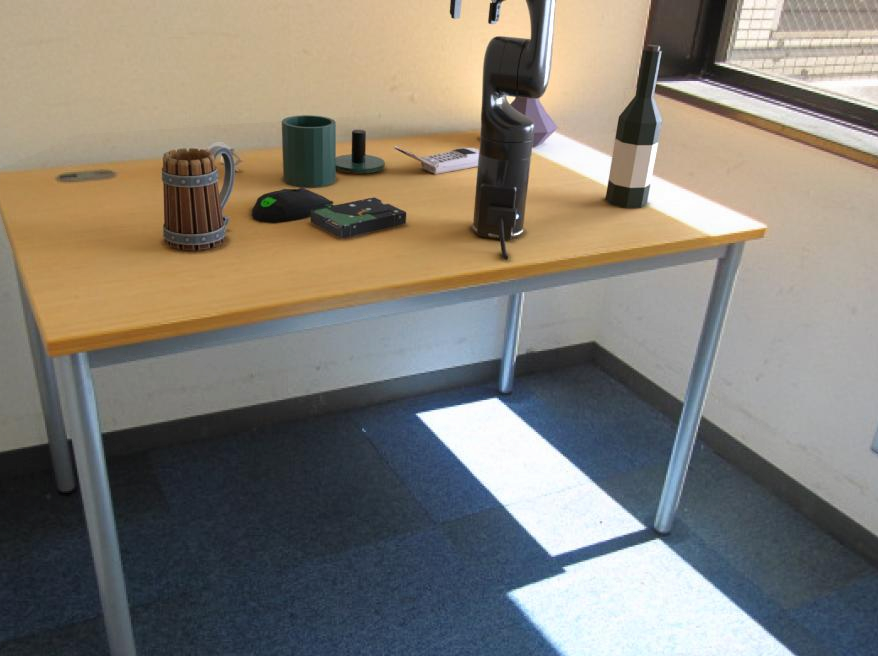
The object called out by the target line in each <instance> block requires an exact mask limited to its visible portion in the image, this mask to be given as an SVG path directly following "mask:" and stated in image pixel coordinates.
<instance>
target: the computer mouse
mask: <svg viewBox="0 0 878 656" xmlns="http://www.w3.org/2000/svg"><path fill="white" fill-rule="evenodd" d="M333 205H334V201H333V200H330V199H328V198H327V197H325V196H324V195H321V194H319V193H317V192H314V191H312V190H310V189H307V188H306V187H298V188H282V189H279V190H274V191H269V192H267V193H264V194H262V195H260V196H258V197H257V199H256V200H255V203H254V205H253V207H252V209H251V217H252V220H254V221H257V222H259V223H265V224H280V223H281V224H282V223H289V222H294V221H295V222H296V221H301V220H304V219H305V220H306V219H309V218H310V210H314V209H319V208H323V207H330V206H333Z"/></svg>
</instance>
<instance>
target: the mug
mask: <svg viewBox="0 0 878 656" xmlns="http://www.w3.org/2000/svg"><path fill="white" fill-rule="evenodd" d="M221 155H222V156H223V158H222V160H223V162H224V163H223V164H224V176H223V182H222V187H221V189H220V188H219V182H218V181H219V175H220V173H219V172H218V167H217V166H216V160H217V158H218V157H219V156H221ZM235 169H236V166H235V158H234V155H233V154H232V153H231V151H230V150H229V149H227V148H225V147H221V146H214V147H212V148H211V149H210V150H209V151H208V152H207V150H206V149H204V148H195V147H191V148H189V149H188V150H187V148H183V147H182V148H178V149H171V150H168V152H167V151H166V152H165V153H163V156H162V168H161V181H162V183H163V185H162V186H163V224H162V236H163V238H164V242H165V244H166V245H167V246H169V247H170V248H172V249H174V250H177V251H182V252H203V251H204V252H205V251H209V250H213V249H217V248H218V247H220V246H221V245H222V244H223V243H224V242H225V241H226V238H227V237H226V235H227V230H226V227H227V226H228V224H229V222H230V215H226V214H223V211H224V209H225V207H226V205H227V203H228V202H229V199H230V196H231V194H232V192H233V189H234V184H235V178H236V177H235V175H236V170H235Z"/></svg>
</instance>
